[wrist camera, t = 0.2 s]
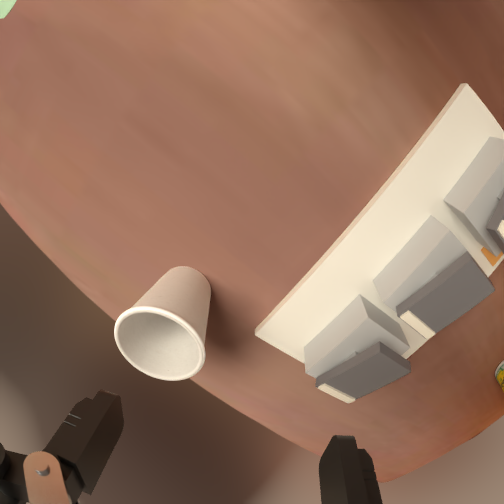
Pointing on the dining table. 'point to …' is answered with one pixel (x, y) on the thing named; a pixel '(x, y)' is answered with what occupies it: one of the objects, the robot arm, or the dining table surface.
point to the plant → (6, 7)
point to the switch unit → (399, 243)
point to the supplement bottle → (500, 374)
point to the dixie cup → (167, 326)
